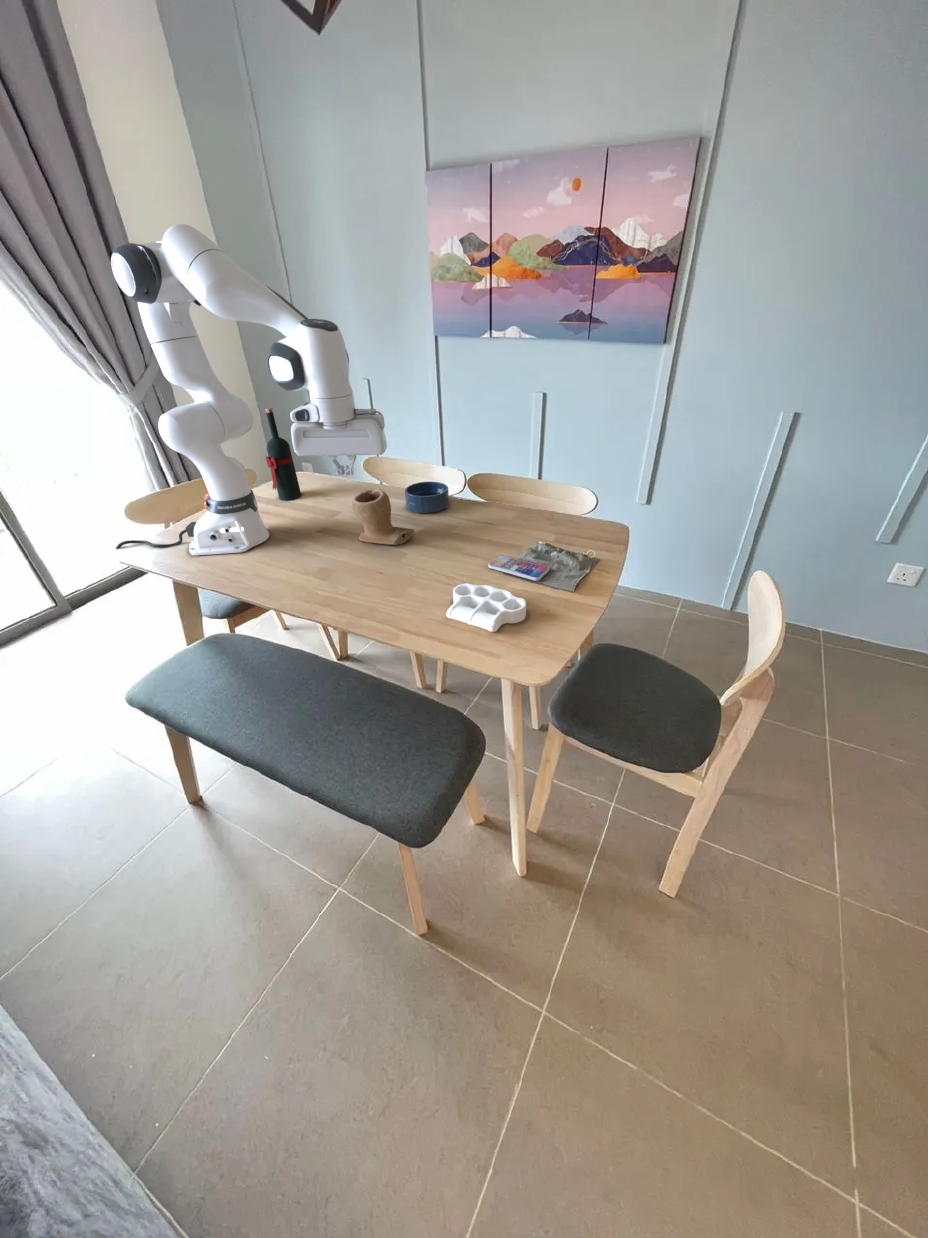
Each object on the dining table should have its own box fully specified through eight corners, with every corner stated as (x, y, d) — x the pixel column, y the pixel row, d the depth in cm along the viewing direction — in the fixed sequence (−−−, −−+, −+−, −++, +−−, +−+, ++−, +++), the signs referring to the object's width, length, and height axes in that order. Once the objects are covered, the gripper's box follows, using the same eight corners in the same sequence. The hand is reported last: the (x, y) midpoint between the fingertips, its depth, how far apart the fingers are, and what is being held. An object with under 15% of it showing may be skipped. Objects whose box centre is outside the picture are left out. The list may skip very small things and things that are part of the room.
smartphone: (500, 553, 133) (551, 567, 126) (500, 557, 133) (550, 570, 126) (486, 564, 128) (538, 579, 121) (486, 568, 128) (538, 582, 121)
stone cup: (350, 546, 142) (341, 496, 134) (372, 529, 151) (364, 482, 143) (396, 553, 137) (390, 502, 129) (416, 536, 146) (411, 487, 138)
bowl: (411, 517, 158) (409, 499, 155) (403, 501, 170) (401, 484, 166) (453, 510, 161) (452, 493, 158) (443, 496, 173) (442, 479, 169)
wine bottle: (269, 500, 175) (244, 411, 158) (290, 491, 182) (269, 404, 165) (285, 504, 172) (261, 413, 155) (306, 494, 179) (286, 406, 162)
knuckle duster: (434, 617, 111) (468, 587, 121) (506, 640, 103) (535, 606, 113) (433, 605, 109) (467, 575, 119) (506, 627, 101) (536, 594, 111)
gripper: (385, 404, 105) (393, 469, 113) (293, 407, 107) (307, 470, 115) (379, 411, 100) (387, 478, 108) (282, 413, 102) (297, 479, 110)
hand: (345, 474), depth 111 cm, fingers closed
